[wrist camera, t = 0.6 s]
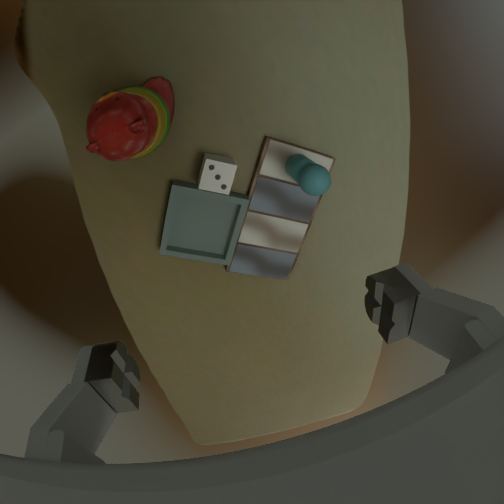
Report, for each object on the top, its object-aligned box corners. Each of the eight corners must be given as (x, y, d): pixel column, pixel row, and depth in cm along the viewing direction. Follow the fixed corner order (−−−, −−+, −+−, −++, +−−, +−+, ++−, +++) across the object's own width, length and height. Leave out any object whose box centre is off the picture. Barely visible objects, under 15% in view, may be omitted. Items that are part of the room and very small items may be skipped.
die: (204, 152, 44) (206, 158, 40) (233, 158, 46) (237, 165, 42) (197, 179, 46) (198, 188, 42) (225, 185, 47) (228, 195, 44)
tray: (173, 179, 45) (172, 184, 43) (247, 195, 49) (249, 200, 47) (160, 247, 51) (159, 254, 49) (227, 258, 54) (229, 265, 52)
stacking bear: (169, 73, 37) (153, 62, 22) (184, 136, 42) (178, 164, 27) (99, 96, 36) (48, 103, 21) (116, 157, 42) (78, 196, 27)
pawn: (289, 149, 45) (311, 164, 37) (314, 157, 46) (340, 174, 38) (280, 175, 47) (300, 196, 38) (305, 182, 48) (329, 204, 40)
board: (265, 136, 44) (267, 137, 43) (332, 157, 48) (336, 159, 47) (225, 267, 55) (226, 272, 54) (286, 277, 59) (288, 281, 57)
